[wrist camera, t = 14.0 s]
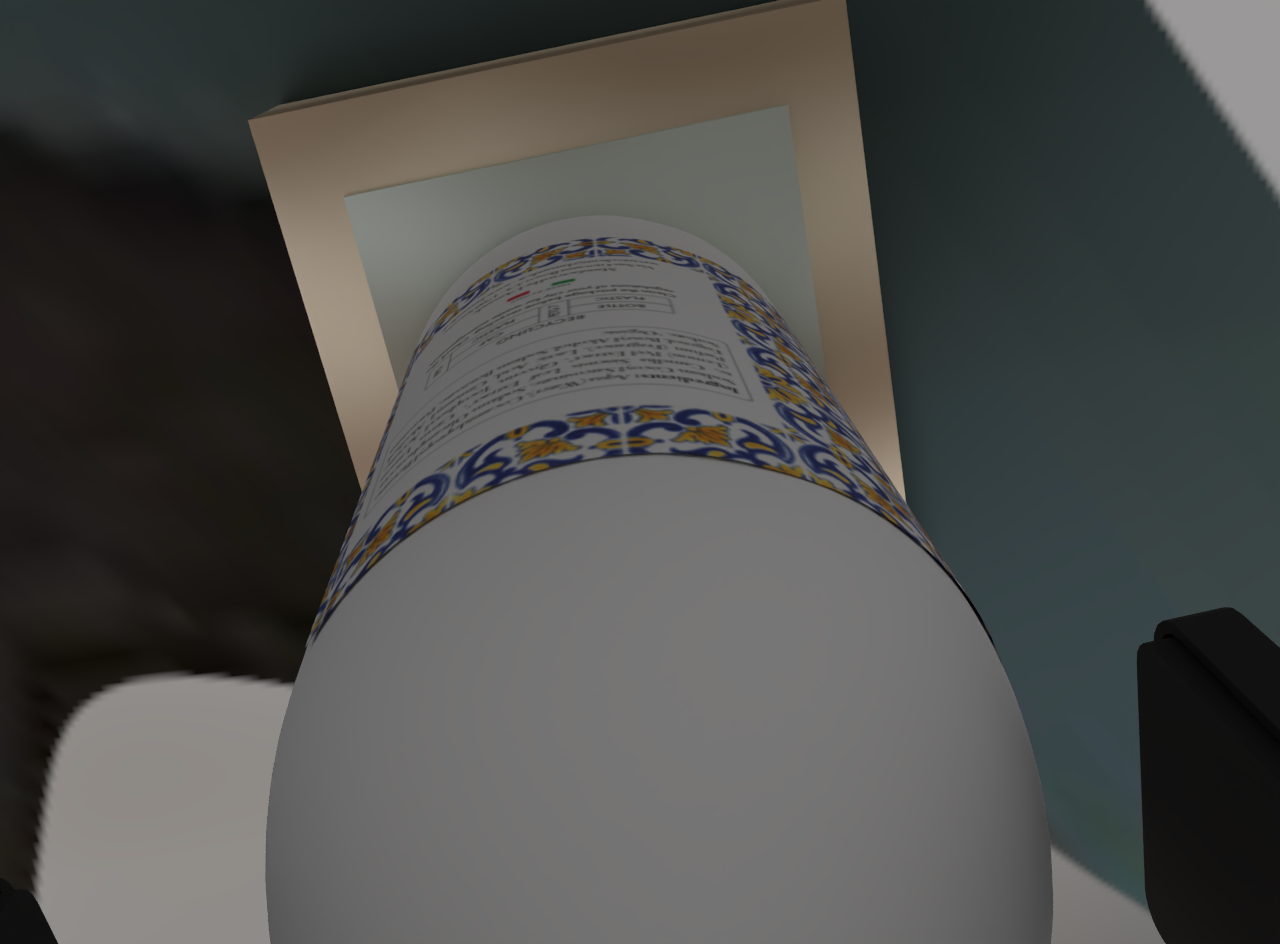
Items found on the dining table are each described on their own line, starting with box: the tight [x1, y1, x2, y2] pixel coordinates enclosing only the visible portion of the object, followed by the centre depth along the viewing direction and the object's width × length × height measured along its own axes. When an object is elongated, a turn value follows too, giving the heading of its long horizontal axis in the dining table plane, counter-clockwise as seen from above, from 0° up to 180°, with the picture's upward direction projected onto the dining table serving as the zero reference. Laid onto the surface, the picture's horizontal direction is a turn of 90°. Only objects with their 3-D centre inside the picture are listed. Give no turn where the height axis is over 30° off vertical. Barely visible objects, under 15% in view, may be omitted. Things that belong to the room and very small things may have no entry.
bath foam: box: [266, 215, 1053, 944], centre depth 13 cm, size 7×7×20 cm
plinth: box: [248, 0, 906, 502], centre depth 24 cm, size 12×10×3 cm
